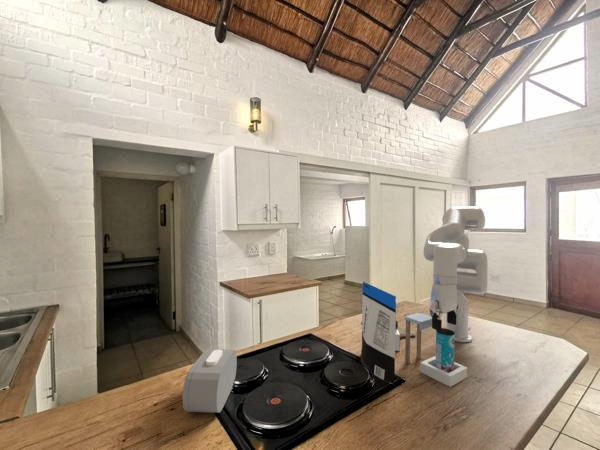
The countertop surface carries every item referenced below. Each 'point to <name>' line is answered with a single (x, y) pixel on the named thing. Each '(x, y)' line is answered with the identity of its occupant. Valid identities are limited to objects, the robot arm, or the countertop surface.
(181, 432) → the countertop surface
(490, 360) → the countertop surface
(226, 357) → the alarm clock
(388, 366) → the protein powder
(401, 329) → the dish towel
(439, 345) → the beverage can
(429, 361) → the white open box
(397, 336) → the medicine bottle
